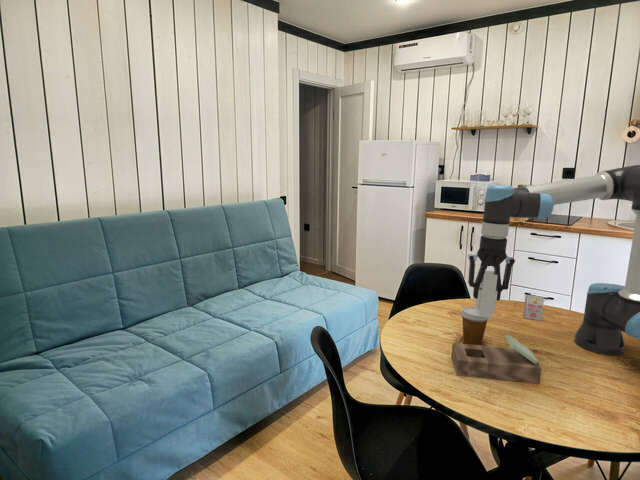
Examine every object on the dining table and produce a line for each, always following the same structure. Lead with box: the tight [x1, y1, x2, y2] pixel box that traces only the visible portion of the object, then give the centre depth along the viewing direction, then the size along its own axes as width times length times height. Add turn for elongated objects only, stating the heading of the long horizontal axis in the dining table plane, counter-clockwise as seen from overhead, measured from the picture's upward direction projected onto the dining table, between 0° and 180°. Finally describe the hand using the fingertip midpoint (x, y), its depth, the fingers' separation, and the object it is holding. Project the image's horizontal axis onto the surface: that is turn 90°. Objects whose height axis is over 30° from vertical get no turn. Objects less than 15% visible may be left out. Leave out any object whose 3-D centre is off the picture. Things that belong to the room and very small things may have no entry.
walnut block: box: [451, 342, 543, 385], centre depth 132 cm, size 24×12×5 cm, turn 80°
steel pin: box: [476, 270, 498, 319], centre depth 130 cm, size 4×4×14 cm
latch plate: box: [504, 333, 540, 365], centre depth 129 cm, size 10×8×1 cm
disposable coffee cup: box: [460, 306, 490, 346], centre depth 150 cm, size 10×10×12 cm
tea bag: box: [522, 294, 545, 322], centre depth 173 cm, size 4×7×10 cm, turn 66°
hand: (484, 308), depth 131 cm, fingers closed on steel pin, 4 cm apart
